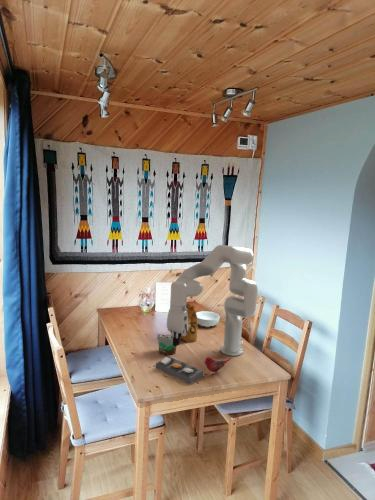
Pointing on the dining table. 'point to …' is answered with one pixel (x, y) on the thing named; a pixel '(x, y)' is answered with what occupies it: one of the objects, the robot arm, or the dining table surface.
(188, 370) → the rocker
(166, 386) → the dining table surface
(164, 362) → the rocker
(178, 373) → the rocker switch panel
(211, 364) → the decorative bird figurine
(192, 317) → the coffee package
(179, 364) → the middle rocker
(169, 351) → the food container
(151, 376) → the dining table surface
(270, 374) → the dining table surface
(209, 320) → the cereal bowl
